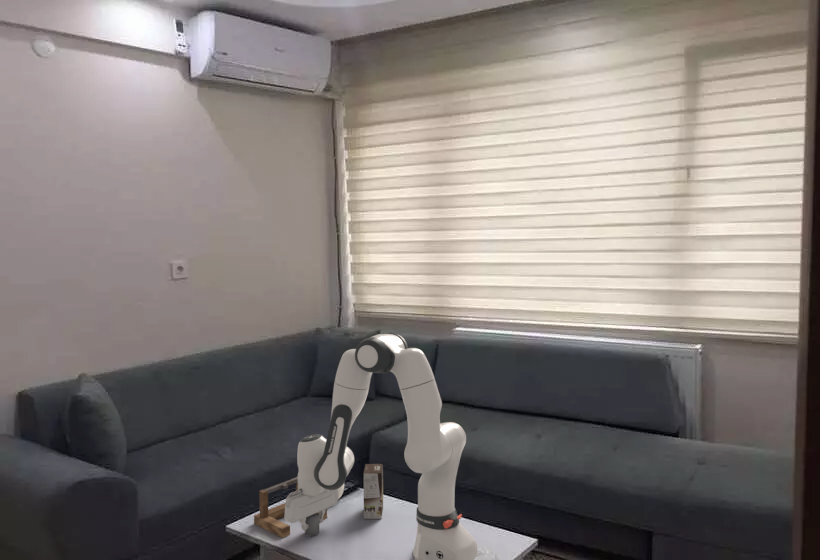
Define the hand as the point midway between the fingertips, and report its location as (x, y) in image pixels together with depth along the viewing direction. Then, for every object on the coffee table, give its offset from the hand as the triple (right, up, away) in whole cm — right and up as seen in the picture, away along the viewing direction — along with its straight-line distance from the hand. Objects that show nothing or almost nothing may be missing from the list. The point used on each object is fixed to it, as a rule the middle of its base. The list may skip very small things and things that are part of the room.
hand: (312, 525), depth 223 cm
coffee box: (+19, -1, +15) cm, 24 cm away
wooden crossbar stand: (-8, -2, +9) cm, 12 cm away
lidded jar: (+3, 0, +26) cm, 26 cm away
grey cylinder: (0, -2, 0) cm, 2 cm away
